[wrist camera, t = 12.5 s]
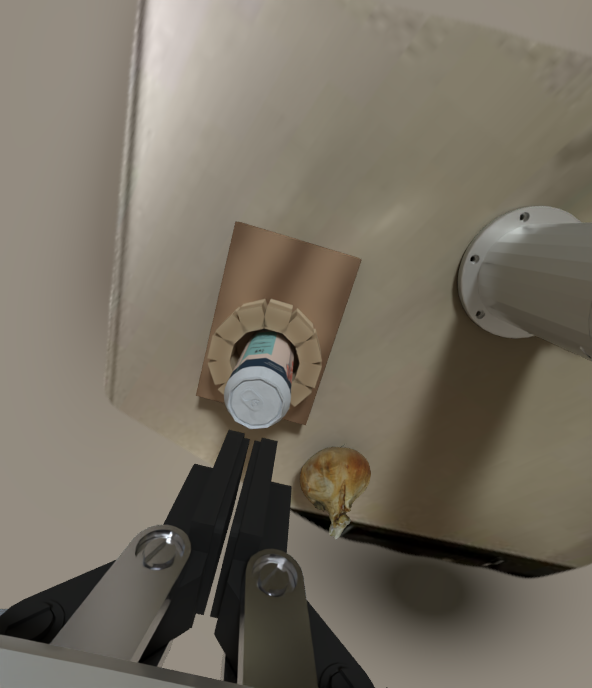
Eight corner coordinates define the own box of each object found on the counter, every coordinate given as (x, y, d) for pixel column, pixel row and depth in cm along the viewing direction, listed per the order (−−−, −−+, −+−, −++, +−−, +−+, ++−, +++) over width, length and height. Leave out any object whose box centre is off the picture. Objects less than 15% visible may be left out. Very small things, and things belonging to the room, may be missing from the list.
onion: (380, 463, 43) (396, 513, 35) (328, 499, 45) (333, 554, 37) (340, 419, 41) (348, 462, 34) (287, 458, 43) (283, 507, 36)
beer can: (269, 381, 37) (254, 447, 26) (236, 347, 36) (206, 401, 25) (304, 351, 36) (304, 407, 25) (272, 316, 35) (256, 357, 24)
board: (357, 257, 36) (367, 262, 30) (305, 413, 41) (305, 443, 36) (240, 222, 35) (227, 220, 30) (202, 385, 41) (185, 411, 35)
